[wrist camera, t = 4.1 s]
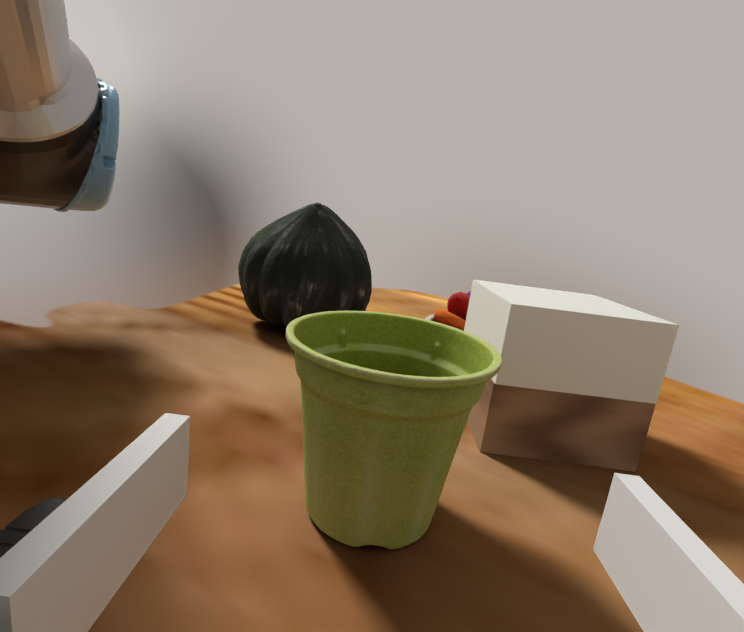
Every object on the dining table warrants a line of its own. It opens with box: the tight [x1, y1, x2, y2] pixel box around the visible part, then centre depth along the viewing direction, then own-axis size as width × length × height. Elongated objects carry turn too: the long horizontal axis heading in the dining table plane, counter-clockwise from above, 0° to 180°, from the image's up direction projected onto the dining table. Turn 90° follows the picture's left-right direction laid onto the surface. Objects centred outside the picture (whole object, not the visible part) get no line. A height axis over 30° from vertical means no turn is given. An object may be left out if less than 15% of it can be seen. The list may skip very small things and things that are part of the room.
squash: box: [239, 203, 372, 328], centre depth 50 cm, size 14×15×15 cm
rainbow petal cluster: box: [425, 291, 471, 331], centre depth 49 cm, size 8×10×7 cm
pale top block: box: [464, 280, 679, 404], centre depth 31 cm, size 10×10×5 cm
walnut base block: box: [467, 379, 656, 472], centre depth 32 cm, size 10×10×5 cm
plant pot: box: [286, 311, 502, 550], centre depth 20 cm, size 9×9×9 cm
